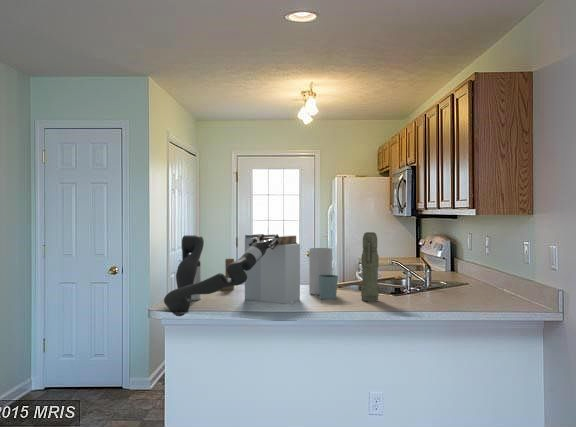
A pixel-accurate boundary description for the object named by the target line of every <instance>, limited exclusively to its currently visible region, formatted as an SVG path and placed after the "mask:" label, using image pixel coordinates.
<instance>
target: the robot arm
mask: <svg viewBox="0 0 576 427" xmlns="http://www.w3.org/2000/svg"><path fill="white" fill-rule="evenodd" d="M260 234H261V235H260V236H259V237H258V238H257V239H255V238H253V239H252V241H251V242H250V243H249V248H248V249H247V251H246V252H245V251H244V254H242V256H241V257H239V258H238V259H237V260H234V262H232V263H230V264H229V265H228V266H227V269H226V270H227V273H228V275H229V276H230V278H227V277H226V276H225V274H224V273H221V272H219V273H217V274H215V275H213V276H211V277H208V278H206V279H204V280H202V281H201V260H200V258H201V255H202V252H203V249H204V242H205V241H204V238H203V236H201V235H199V234H198V235H197V234H196V235H195V234H194V235H192V234H190V235H189V234H187V235H183V236H182V239H181V257H182V258H181V259H182V260H181V261H180V262H179V264H178V266H177V270H176V273H175V282H176V286H177V288H175V289H173V290H171V291H169V292H168V293H167V294H166V295H165V296H164V299H163V303H164V304H165V306H166V307H167V309H169V311H170V312H171V313H172V314H173V315H174V316H176V317H183V316H184V315H185V313H187V312H189V309H190V307H191V302H192V301H198V300H201V295H210V294H214V293H216V292H218V291H222V290H221V289H223V288H225V287H230V286H234V287H235V286H239V285H243V284H245V281H246V280H247V274H246V273H245V271H248V270H250V269H251V268H252V267H253V266H254V265H255V264H256V263H257V262H258V261H259V260H260V259H261V258H262V256H263V255H264V254H265V253H266V250H267V249H268V248H271V249H274V248H275V247H276V246H277V245H278V244H279V242H278V239H279V236H280V235H279V234H277V233H276V234H275V236H274V237H273V238H272V239H268V240H266V241H263V237H264V235H265V234H263V233H260ZM271 241H273V242H271ZM268 242H270V245H269V243H268ZM184 312H185V313H184Z"/></svg>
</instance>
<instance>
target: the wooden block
mask: <svg viewBox="0 0 576 427" xmlns="http://www.w3.org/2000/svg"><path fill="white" fill-rule="evenodd" d="M232 262H235V258H226V259H225V266H224V267H225V274H224V275H225V276H226V277H227V278H230V276H229V275H228V273H227V270H226V269H227V266H228V265H229V264H230V263H232ZM234 289H235V286H230V287H225V288H223V289H221V290H220V291H233V290H234Z"/></svg>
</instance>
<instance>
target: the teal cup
mask: <svg viewBox="0 0 576 427" xmlns="http://www.w3.org/2000/svg"><path fill="white" fill-rule="evenodd" d="M338 279H339V275H335V274H332V275H319V290H320V295H319V299H320V300H326V299H332V300H336V299H337V293H338V292H337V291H338V281H339V280H338Z"/></svg>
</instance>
